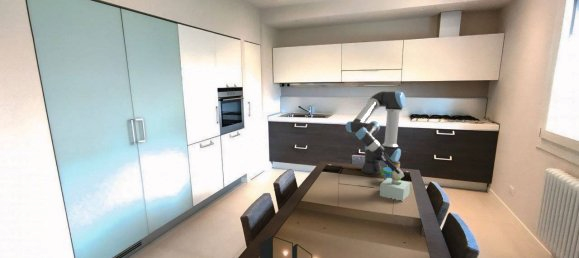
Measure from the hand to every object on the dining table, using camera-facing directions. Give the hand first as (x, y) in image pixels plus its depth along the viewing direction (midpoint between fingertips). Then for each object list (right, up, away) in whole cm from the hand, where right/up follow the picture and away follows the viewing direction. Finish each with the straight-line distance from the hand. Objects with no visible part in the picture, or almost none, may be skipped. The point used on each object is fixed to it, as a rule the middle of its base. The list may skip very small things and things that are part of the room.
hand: (402, 175), depth 161 cm
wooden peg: (-4, -3, +2) cm, 5 cm away
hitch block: (-3, -13, +4) cm, 14 cm away
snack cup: (+2, -10, +24) cm, 26 cm away
